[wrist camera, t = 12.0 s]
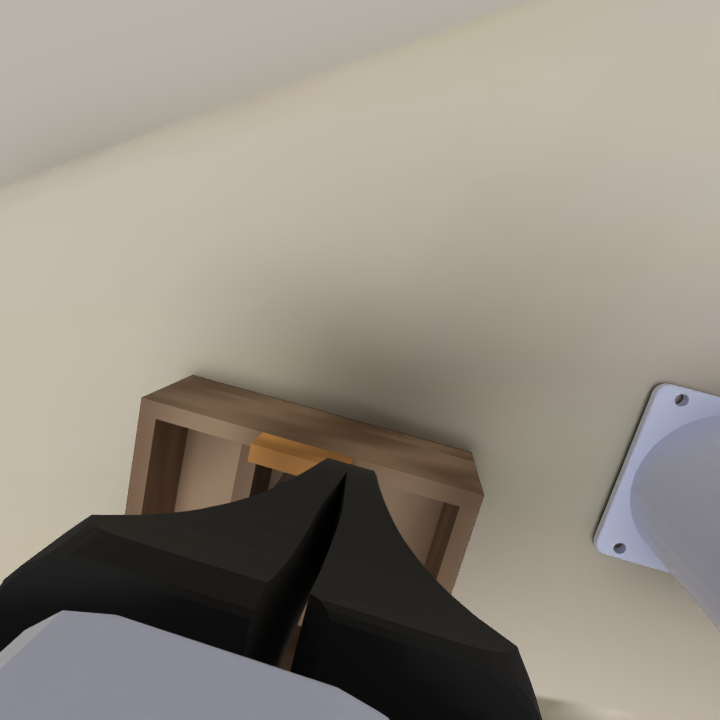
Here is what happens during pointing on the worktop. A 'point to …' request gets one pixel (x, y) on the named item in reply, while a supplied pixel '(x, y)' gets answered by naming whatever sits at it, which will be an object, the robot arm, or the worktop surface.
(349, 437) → the rack
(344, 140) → the worktop surface
